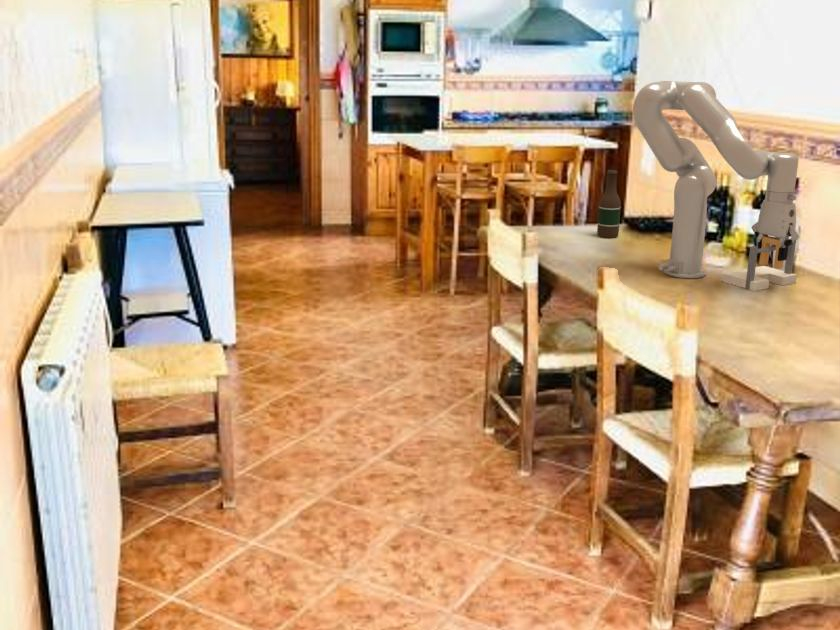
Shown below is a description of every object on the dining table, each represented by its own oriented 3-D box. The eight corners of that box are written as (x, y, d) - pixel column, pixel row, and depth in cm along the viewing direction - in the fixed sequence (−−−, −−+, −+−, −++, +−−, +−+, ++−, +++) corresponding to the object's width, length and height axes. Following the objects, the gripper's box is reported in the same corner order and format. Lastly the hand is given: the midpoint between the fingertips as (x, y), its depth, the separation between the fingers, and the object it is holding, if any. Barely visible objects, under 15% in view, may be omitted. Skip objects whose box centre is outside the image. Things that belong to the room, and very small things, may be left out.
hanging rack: (754, 291, 255) (759, 248, 251) (721, 281, 265) (726, 240, 261) (795, 282, 264) (801, 241, 260) (762, 273, 274) (767, 233, 270)
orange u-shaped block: (763, 263, 263) (767, 235, 260) (782, 268, 258) (786, 240, 255) (759, 264, 262) (762, 236, 260) (777, 269, 257) (781, 240, 254)
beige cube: (795, 273, 274) (798, 251, 272) (772, 272, 275) (775, 250, 273) (791, 267, 281) (794, 246, 278) (768, 266, 282) (771, 245, 280)
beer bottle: (620, 238, 318) (625, 172, 311) (598, 238, 319) (603, 172, 311) (616, 234, 326) (621, 168, 318) (595, 234, 326) (599, 168, 319)
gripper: (814, 200, 248) (805, 262, 254) (763, 191, 262) (756, 250, 268) (796, 203, 245) (787, 265, 250) (746, 193, 259) (739, 252, 264)
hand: (771, 257), depth 259 cm, fingers closed on orange u-shaped block, 6 cm apart
